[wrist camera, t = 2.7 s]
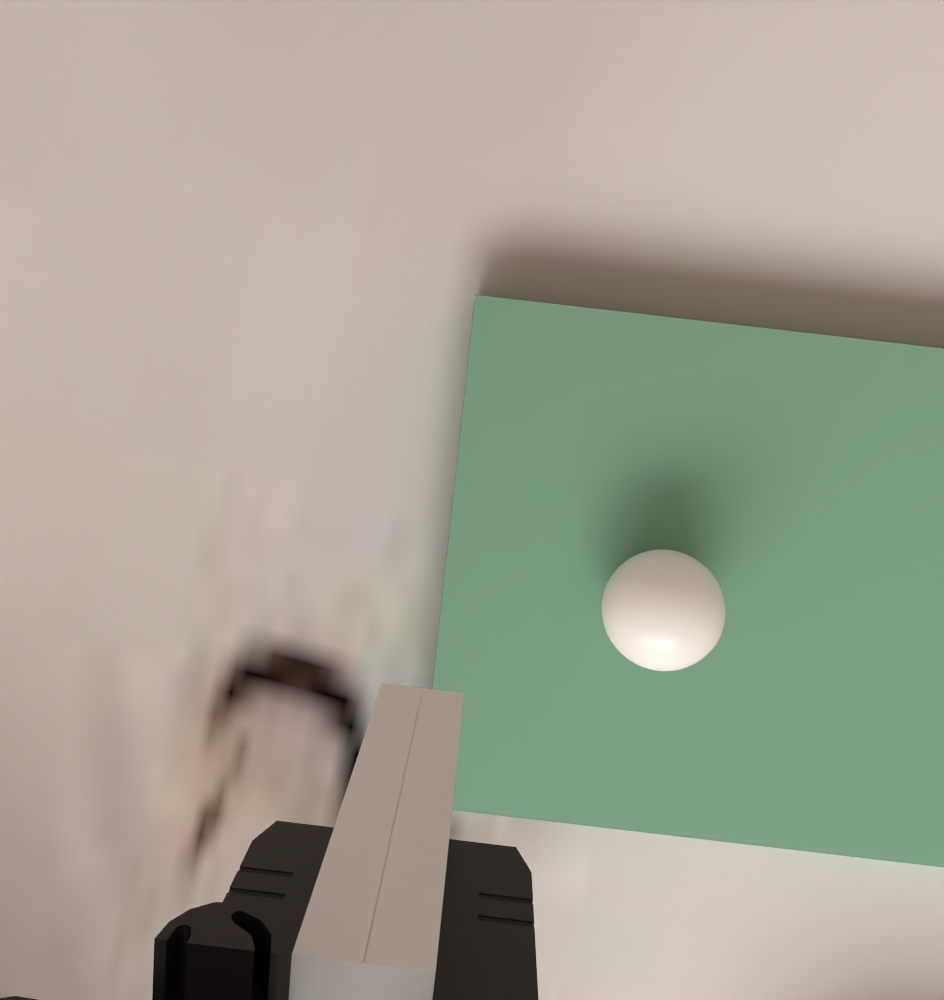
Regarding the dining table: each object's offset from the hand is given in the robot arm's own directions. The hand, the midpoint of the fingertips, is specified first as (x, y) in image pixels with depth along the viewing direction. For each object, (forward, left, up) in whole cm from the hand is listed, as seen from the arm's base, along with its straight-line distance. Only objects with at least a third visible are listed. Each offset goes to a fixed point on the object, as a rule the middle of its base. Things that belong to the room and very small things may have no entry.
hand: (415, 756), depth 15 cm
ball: (+7, 0, -11) cm, 13 cm away
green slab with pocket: (+17, 0, -15) cm, 23 cm away
